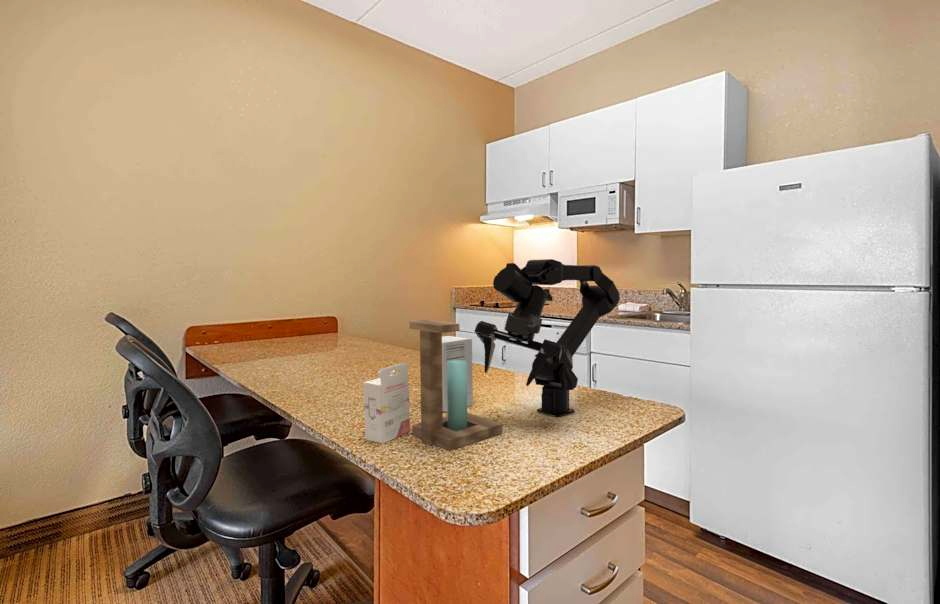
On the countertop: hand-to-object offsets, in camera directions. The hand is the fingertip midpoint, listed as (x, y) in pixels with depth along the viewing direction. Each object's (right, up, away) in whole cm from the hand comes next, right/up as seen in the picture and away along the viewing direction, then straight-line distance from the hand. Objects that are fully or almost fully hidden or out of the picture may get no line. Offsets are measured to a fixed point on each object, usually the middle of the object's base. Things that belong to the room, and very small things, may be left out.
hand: (506, 379), depth 100 cm
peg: (-10, -11, -3) cm, 15 cm away
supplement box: (-13, -10, +19) cm, 25 cm away
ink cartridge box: (-24, -11, -3) cm, 27 cm away
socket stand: (-10, -11, -3) cm, 15 cm away
